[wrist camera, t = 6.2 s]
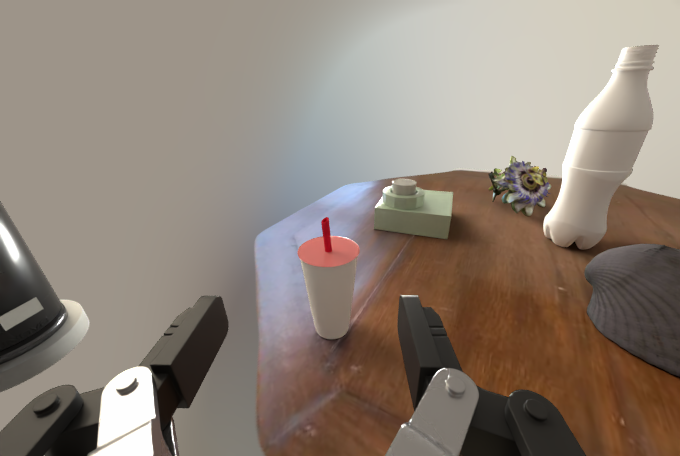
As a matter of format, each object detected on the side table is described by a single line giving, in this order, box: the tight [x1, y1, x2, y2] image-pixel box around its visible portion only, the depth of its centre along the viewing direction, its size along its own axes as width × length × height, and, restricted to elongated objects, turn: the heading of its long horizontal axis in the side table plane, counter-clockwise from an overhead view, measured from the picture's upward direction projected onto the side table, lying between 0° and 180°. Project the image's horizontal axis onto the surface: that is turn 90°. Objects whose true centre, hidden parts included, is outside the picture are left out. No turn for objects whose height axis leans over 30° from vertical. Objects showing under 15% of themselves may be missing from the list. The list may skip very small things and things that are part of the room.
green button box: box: [374, 186, 453, 239], centre depth 49 cm, size 12×12×6 cm
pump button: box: [392, 179, 417, 196], centre depth 47 cm, size 4×4×2 cm
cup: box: [298, 217, 359, 339], centre depth 25 cm, size 5×5×12 cm
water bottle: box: [543, 45, 659, 250], centre depth 36 cm, size 7×7×25 cm
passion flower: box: [489, 156, 551, 216], centre depth 53 cm, size 11×11×12 cm
